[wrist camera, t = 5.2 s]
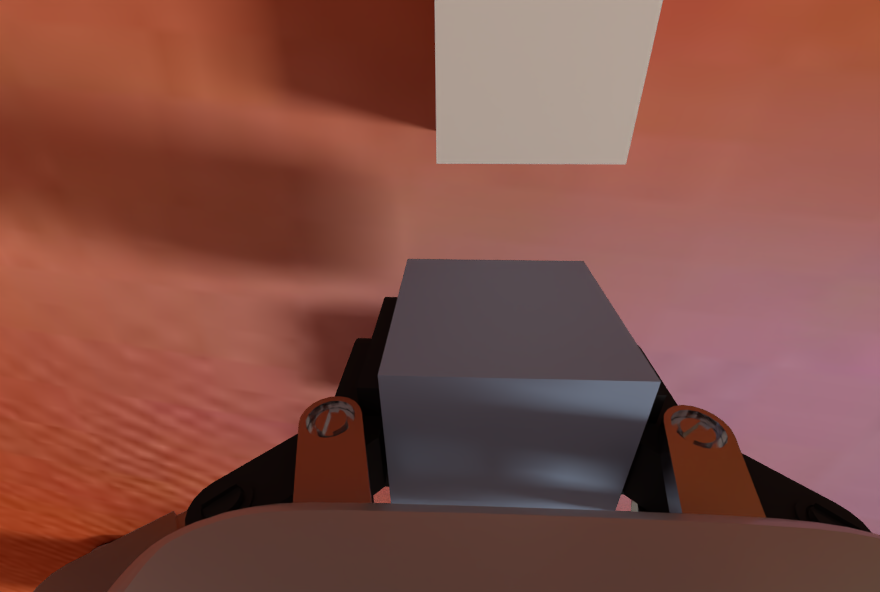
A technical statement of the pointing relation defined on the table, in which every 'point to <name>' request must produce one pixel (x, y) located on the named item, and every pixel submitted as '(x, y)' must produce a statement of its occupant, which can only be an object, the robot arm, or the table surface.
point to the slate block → (510, 387)
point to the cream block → (540, 79)
